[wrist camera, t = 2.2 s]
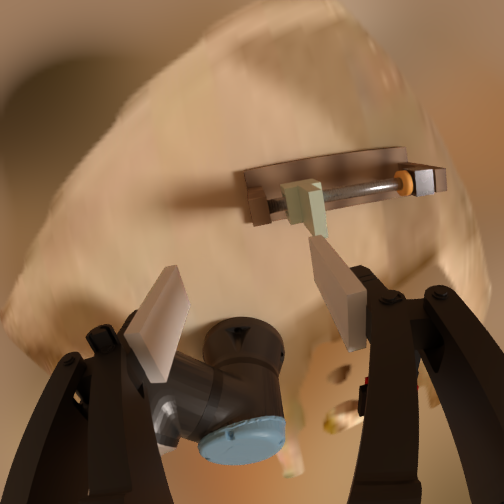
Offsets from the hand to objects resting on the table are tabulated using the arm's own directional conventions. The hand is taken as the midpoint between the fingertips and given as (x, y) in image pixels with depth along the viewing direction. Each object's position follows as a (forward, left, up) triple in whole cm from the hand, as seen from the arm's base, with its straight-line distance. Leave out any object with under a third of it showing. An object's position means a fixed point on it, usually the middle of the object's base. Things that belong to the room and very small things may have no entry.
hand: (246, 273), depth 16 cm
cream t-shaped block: (+5, -4, -19) cm, 20 cm away
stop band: (+15, -13, -18) cm, 27 cm away
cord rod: (+10, -9, -18) cm, 23 cm away
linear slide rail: (+10, -9, -27) cm, 30 cm away
